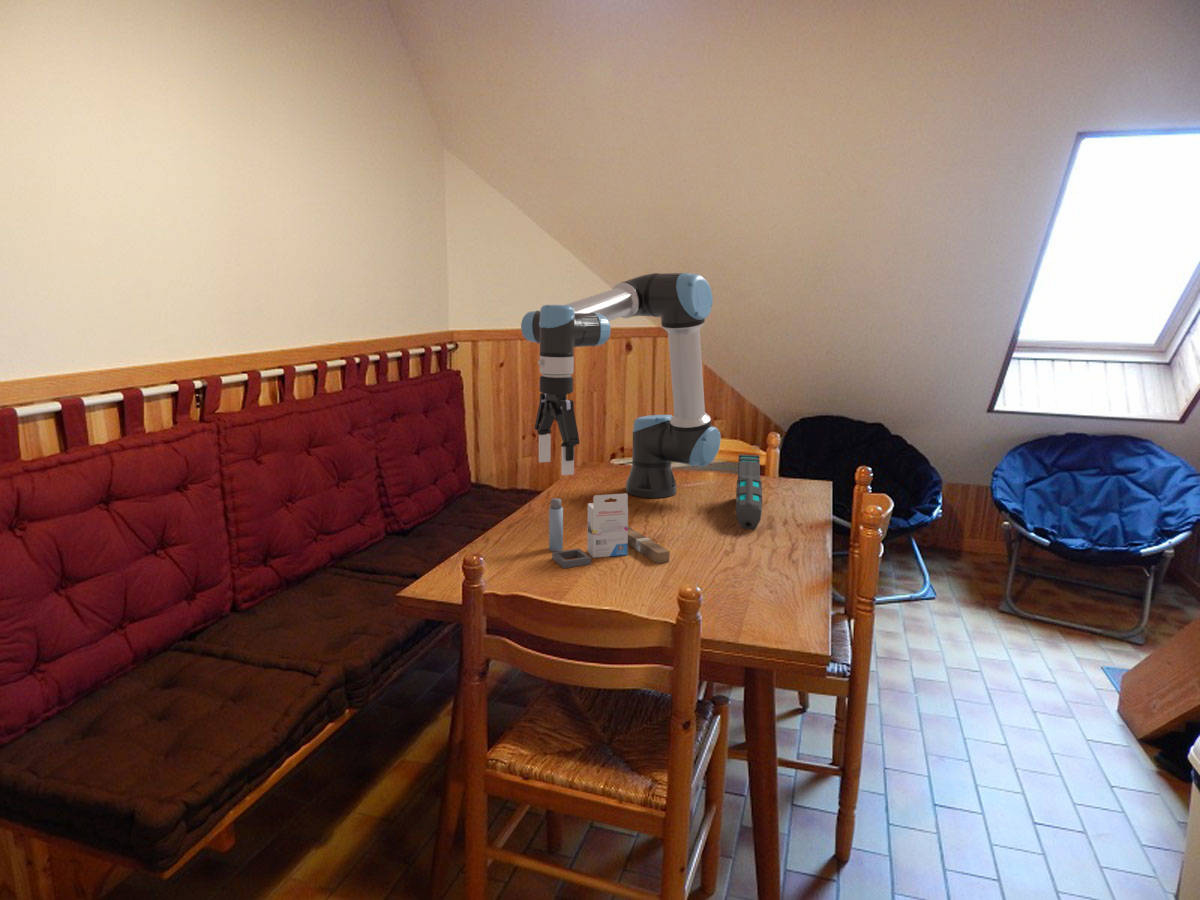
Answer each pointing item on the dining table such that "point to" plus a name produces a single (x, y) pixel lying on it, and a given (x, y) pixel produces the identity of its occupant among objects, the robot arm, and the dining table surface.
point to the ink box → (608, 526)
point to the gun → (749, 492)
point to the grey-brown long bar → (647, 547)
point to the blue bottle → (555, 525)
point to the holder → (581, 560)
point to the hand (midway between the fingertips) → (555, 468)
